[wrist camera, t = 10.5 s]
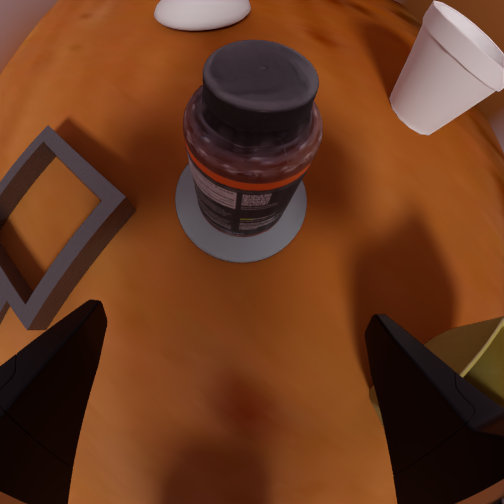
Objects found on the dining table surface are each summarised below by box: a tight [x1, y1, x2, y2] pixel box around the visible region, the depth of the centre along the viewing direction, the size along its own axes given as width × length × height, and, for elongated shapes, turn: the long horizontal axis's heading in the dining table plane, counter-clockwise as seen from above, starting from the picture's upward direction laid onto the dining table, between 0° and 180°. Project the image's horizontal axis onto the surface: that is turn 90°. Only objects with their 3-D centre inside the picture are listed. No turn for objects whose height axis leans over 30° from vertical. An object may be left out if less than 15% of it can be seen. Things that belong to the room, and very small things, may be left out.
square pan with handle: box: [0, 126, 136, 330], centre depth 16 cm, size 19×11×2 cm, turn 142°
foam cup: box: [389, 1, 504, 135], centre depth 18 cm, size 10×9×13 cm
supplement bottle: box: [183, 40, 323, 237], centre depth 14 cm, size 6×6×11 cm
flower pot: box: [369, 316, 504, 427], centre depth 13 cm, size 9×9×9 cm
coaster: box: [175, 163, 307, 263], centre depth 19 cm, size 9×9×1 cm
